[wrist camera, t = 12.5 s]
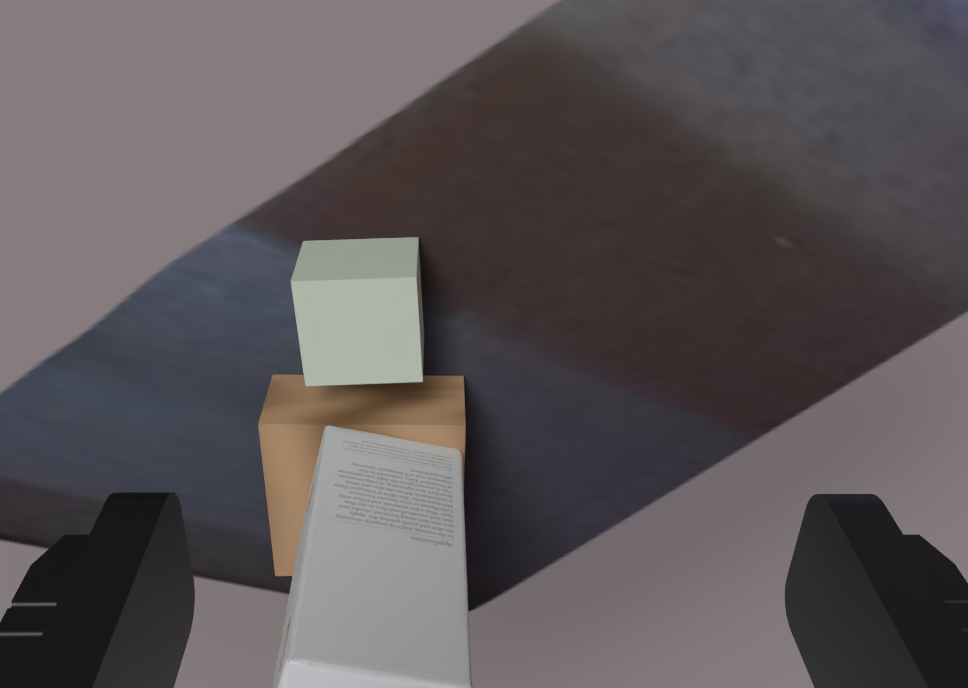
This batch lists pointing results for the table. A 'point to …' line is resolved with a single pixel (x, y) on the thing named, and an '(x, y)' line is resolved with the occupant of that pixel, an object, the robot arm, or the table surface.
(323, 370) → the brick
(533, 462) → the table surface
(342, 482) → the small box
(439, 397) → the base brick
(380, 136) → the table surface
